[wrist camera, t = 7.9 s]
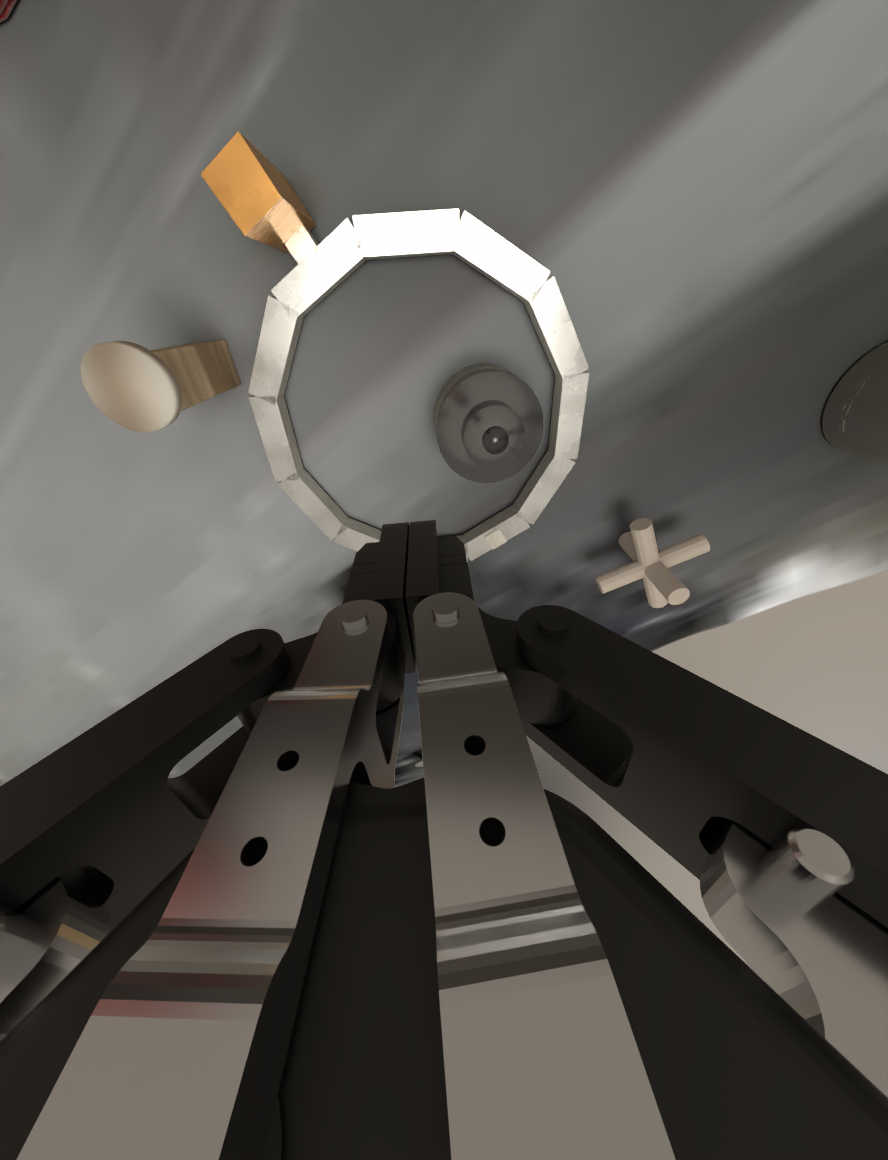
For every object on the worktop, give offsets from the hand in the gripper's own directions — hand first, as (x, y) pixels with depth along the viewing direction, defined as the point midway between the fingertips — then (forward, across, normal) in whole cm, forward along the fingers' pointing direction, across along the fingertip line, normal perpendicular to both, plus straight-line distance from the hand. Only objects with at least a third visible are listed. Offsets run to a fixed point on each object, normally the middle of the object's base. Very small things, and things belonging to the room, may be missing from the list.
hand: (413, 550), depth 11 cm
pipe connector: (+26, -20, +16) cm, 37 cm away
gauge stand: (+25, +16, -3) cm, 30 cm away
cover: (+26, -5, +2) cm, 26 cm away
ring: (+25, +1, +1) cm, 25 cm away
